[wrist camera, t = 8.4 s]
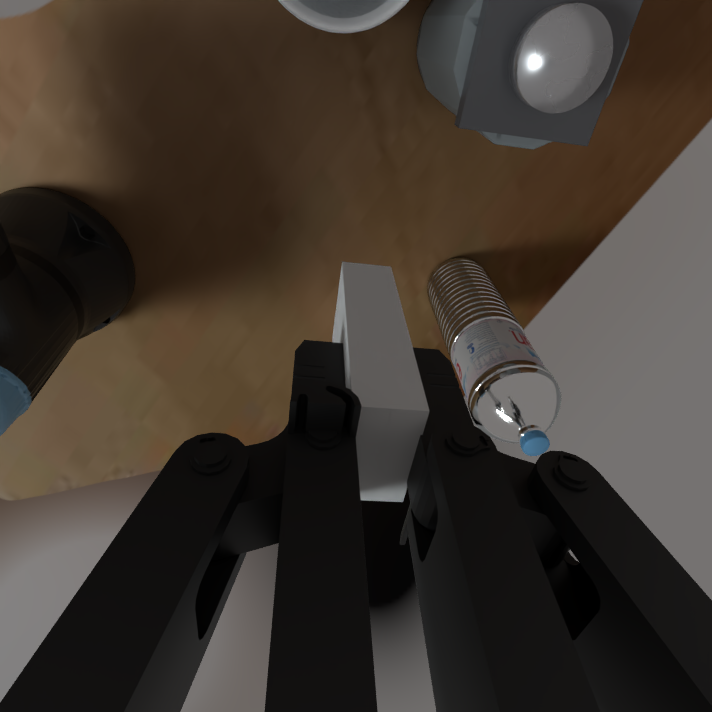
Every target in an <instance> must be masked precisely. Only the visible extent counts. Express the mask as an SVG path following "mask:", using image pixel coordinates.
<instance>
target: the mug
mask: <svg viewBox="0 0 712 712" xmlns="http://www.w3.org/2000/svg"><path fill="white" fill-rule="evenodd" d="M278 1H279V2H280V3H281V4H282V5H283V6H284V7H285V8H286V9H287V10H288V11H289V12H290V13H292V14H293V15H294V16H295V17H297V18H298V19H299V20H301V21H303V22H305V23H306V24H308V25H310V26H313V27H314V28H317V29H320V30H324V31H327V32H333V33H354V32H360V31H365V30H368V29H371V28H374V27H376V26H378V25H380V24H382V23H383V22H385V21H387V20H388V19H390V18H391V17H392V16H394V15H395V14H396V13H397V12H399V11H400V10H401V9H402V8H403V7H404V6H405V5H406V4H407V3H408V1H409V0H278Z"/></svg>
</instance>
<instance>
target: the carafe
mask: <svg viewBox="0 0 712 712" xmlns="http://www.w3.org/2000/svg"><path fill="white" fill-rule="evenodd" d="M642 2H643V0H432V1H431V3H430V5H429V6H428V8H427V10H426V12H425V14H424V16H423V19H422V22H421V25H420V29H419V33H418V39H417V61H418V67H419V71H420V74H421V77H422V79H423V81H424V83H425V87H426V89H427V90H428V91H429V92H430V93H431V94H432V95H433V96H434V97H435V98H436V99H437V100H439V101H440V102H441V103H442V104H443V105H444V106H445V107H446V108H447V109H448V110H449V111H451V112H452V113H453V114H455V115H456V120H455V125H456V126H457V127H458V128H462V129H469V130H476V131H477V132H479V133H480V134H481V135H483V136H484V137H485V138H487V139H488V140H489V141H491V142H492V143H493V144H498V145H505V146H512V147H520V148H527V149H536V148H538V147H540V146H543V145H545V144H547V143H550V142H552V141H554V142H561V143H568V144H575V145H582V146H588V143H589V141H590V138H591V136H592V133H593V130H594V128H595V125H596V123H597V120H598V117H599V115H600V112H601V109H602V107H603V104H604V102H605V99H606V98H607V97H608V96H609V95H610V92H611V90H612V87H613V84H614V82H615V79H616V77H617V74H618V71H619V69H620V66H621V64H622V61H623V59H624V56H625V53H626V51H627V48H628V46H629V36H630V34H631V31H632V29H633V26H634V23H635V21H636V18H637V15H638V13H639V10H640V8H641V5H642ZM566 3H584V4H588V5H591V6H593V7H595V8H596V9H598V10H599V11H600V12H601V13H602V14H603V15H604V16H605V17H606V19H607V21H608V23H609V25H610V27H611V31H612V36H613V54H612V59H611V63H610V66H609V69H608V71H607V73H606V76H605V78H604V79H603V81H602V83H601V84H600V86H599V87H598V89H597V90H596V91H595V92H594V93H593V94H592V95H591V96H590V97H589V98H588V99H587V100H586V101H585V102H583V103H582V104H581V105H579V106H577V107H576V108H574V109H572V110H569V111H566V112H562V113H545V112H542V111H539V110H537V109H535V108H532V107H530V106H528V105H526V104H525V103H523V102H522V101H521V100H520V99H519V98H518V97H517V96H516V94H515V92H514V91H513V89H512V86H511V83H510V79H509V58H510V53H511V50H512V47H513V44H514V42H515V40H516V38H517V36H518V34H519V32H520V31H521V30H522V28H523V27H524V25H525V24H526V23H527V22H528V21H529V20H530V19H531V18H532V17H533V16H534V15H536V14H537V13H538V12H540V11H542V10H543V9H545V8H547V7H550V6H552V5H557V4H566Z"/></svg>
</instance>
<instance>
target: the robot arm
mask: <svg viewBox="0 0 712 712" xmlns="http://www.w3.org/2000/svg"><path fill="white" fill-rule="evenodd" d="M134 284H135V271H134V265H133V261H132V258H131V255H130V253H129V250H128V248H127V246H126V244H125V243H124V241H123V239H122V238H121V236H120V235H119V234H118V232H117V231H116V230H115V229H114V227H113V226H112V225H111V224H110V223H109V222H108V221H107V220H106V219H105V218H104V217H102V216H101V215H100V214H99V213H98V212H96V211H95V210H94V209H92V208H91V207H89V206H88V205H86V204H85V203H83V202H81V201H79V200H77V199H75V198H73V197H71V196H68V195H66V194H63V193H60V192H57V191H53V190H48V189H42V188H18V189H13V190H9V191H6V192H4V193H1V194H0V436H1V435H2V434H3V433H4V432H5V431H6V430H7V428H8V427H9V426H10V425H11V424H12V423H13V422H14V421H15V420H16V418H17V417H19V416H20V415H22V414H23V413H24V412H25V411H26V410H27V409H28V408H29V406H30V404H31V402H32V401H33V400H34V398H35V397H36V396H37V394H38V393H39V391H40V390H41V389H42V387H43V386H44V384H45V383H46V382H47V380H48V379H49V378H50V376H51V375H52V373H53V372H54V371H55V369H56V368H57V367H58V365H59V364H60V362H61V361H62V360H63V358H64V357H65V355H66V354H67V353H68V351H69V350H70V349H71V347H72V346H73V344H74V343H75V342H76V341H77V340H79V339H81V338H83V337H85V336H87V335H89V334H91V333H93V332H95V331H98V330H100V329H102V328H104V327H105V326H107V325H108V324H110V323H111V322H112V321H113V320H115V319H116V318H117V317H118V316H119V314H120V313H121V312H122V310H123V309H124V307H125V306H126V304H127V303H128V301H129V300H130V298H131V295H132V293H133V289H134ZM407 486H408V491H409V496H410V507H409V511H408V513H407V517H406V520H405V523H404V526H403V529H402V533H401V537H400V545H405V542H406V540H407V536H409V541H410V548H411V554H412V561H413V567H414V573H415V580H416V586H417V592H418V599H419V605H420V611H421V617H422V623H423V630H424V636H425V643H426V648H427V655H428V661H429V668H430V674H431V680H432V686H433V693H434V699H435V705H436V712H712V600H711V599H710V598H709V597H708V596H707V595H706V593H705V592H704V591H703V590H702V589H701V588H700V587H699V585H698V584H697V583H696V582H695V581H694V580H693V579H692V578H691V577H690V575H689V574H688V573H687V572H686V571H685V570H684V569H683V567H682V566H681V565H680V564H679V563H678V562H677V561H676V560H675V558H674V557H673V556H672V555H671V554H670V553H669V551H668V550H667V549H666V548H665V547H664V546H663V545H662V543H661V542H660V541H659V540H658V539H657V538H656V537H655V536H654V534H653V533H652V532H651V531H650V530H649V529H648V528H647V526H645V524H644V523H643V522H642V521H641V520H640V519H639V517H638V516H637V515H636V514H635V513H634V512H633V510H632V509H631V508H630V507H629V506H628V505H627V504H626V503H625V502H624V500H623V499H622V498H621V497H620V496H619V495H618V493H617V492H616V491H615V490H614V489H613V488H612V487H611V485H610V484H609V483H608V482H607V481H606V480H605V479H604V478H603V476H602V475H601V474H600V473H599V472H598V471H597V470H596V469H595V468H594V467H593V466H592V465H590V464H589V463H588V462H587V461H585V460H583V459H581V458H580V457H578V456H576V455H573V454H570V453H567V452H563V451H549V452H547V453H544V454H542V455H541V456H540V457H539V459H538V460H537V462H536V464H534V463H531V462H528V461H524V460H521V459H518V458H515V457H511V456H509V455H506V454H503V453H501V452H499V451H497V449H496V446H495V445H494V443H493V441H492V440H491V438H490V437H489V436H488V435H487V434H486V433H484V432H483V431H482V430H481V429H479V428H477V427H475V426H474V425H473V422H472V419H471V417H470V414H469V411H468V408H467V406H466V404H465V400H464V397H463V395H462V392H461V389H460V388H459V384H458V381H457V378H455V373H454V370H453V367H452V365H451V362H450V361H449V360H448V359H447V358H446V357H445V356H444V355H443V354H442V353H441V352H440V351H439V350H436V349H424V348H413V347H412V344H411V340H410V336H409V332H408V329H407V325H406V321H405V317H404V314H403V310H402V306H401V302H400V299H399V295H398V291H397V288H396V284H395V280H394V276H393V273H392V269H391V267H389V266H379V265H369V264H360V263H350V262H342V267H341V274H340V282H339V290H338V298H337V306H336V314H335V322H334V330H333V342H323V341H310V340H304V341H303V342H302V344H301V345H300V346H299V347H298V348H297V349H296V351H295V360H294V372H293V383H292V395H291V401H290V411H289V421H288V425H287V426H286V428H285V429H284V431H282V432H281V433H280V434H279V435H278V436H276V437H274V438H273V439H271V440H269V441H266V442H262V443H259V444H254V445H249V446H245V445H244V444H243V443H242V442H241V441H240V440H239V439H237V438H235V437H232V436H230V435H228V434H223V433H207V434H201V435H197V436H195V437H193V438H191V439H189V440H187V441H185V442H184V443H183V444H182V445H181V446H180V447H179V448H178V449H177V450H176V451H175V452H174V453H173V455H172V456H171V458H170V459H169V461H168V462H167V463H166V465H165V466H164V468H163V469H162V471H161V472H160V474H159V475H158V477H157V478H156V479H155V481H154V482H153V484H152V485H151V487H150V488H149V489H148V491H147V492H146V494H145V495H144V497H143V498H142V499H141V501H140V502H139V504H138V505H137V507H136V508H135V510H134V511H133V512H132V514H131V515H130V517H129V518H128V520H127V521H126V523H125V524H124V525H123V527H122V528H121V530H120V531H119V533H118V534H117V535H116V537H115V538H114V540H113V541H112V543H111V544H110V546H109V547H108V548H107V550H106V551H105V553H104V554H103V556H102V557H101V559H100V560H99V561H98V563H97V564H96V566H95V567H94V569H93V570H92V571H91V573H90V574H89V576H88V577H87V579H86V580H85V582H84V583H83V585H82V586H81V587H80V589H79V590H78V592H77V593H76V595H75V596H74V597H73V599H72V600H71V602H70V603H69V605H68V606H67V607H66V609H65V610H64V612H63V613H62V615H61V616H60V617H59V619H58V621H57V622H56V623H55V625H54V626H53V628H52V629H51V631H50V632H49V633H48V635H47V636H46V638H45V639H44V640H43V642H42V643H41V645H40V646H39V648H38V649H37V651H36V652H35V653H34V655H33V656H32V658H31V659H30V661H29V662H28V664H27V665H26V666H25V668H24V669H23V671H22V672H21V674H20V675H19V677H18V678H17V680H16V681H15V682H14V684H13V685H12V687H11V688H10V689H9V691H8V692H7V694H6V695H5V697H4V698H3V699H2V701H1V702H0V712H180V711H181V709H182V706H183V704H184V702H185V699H186V696H187V694H188V692H189V689H190V687H191V685H192V682H193V680H194V678H195V675H196V673H197V670H198V668H199V666H200V663H201V661H202V658H203V656H204V654H205V651H206V649H207V646H208V644H209V642H210V639H211V637H212V634H213V632H214V630H215V627H216V625H217V623H218V620H219V618H220V615H221V613H222V611H223V608H224V606H225V603H226V601H227V599H228V596H229V594H230V591H231V589H232V586H233V584H234V582H235V579H236V577H237V575H238V572H239V570H240V567H241V565H242V563H243V560H244V558H245V555H246V552H248V551H252V550H256V549H259V548H263V547H266V546H270V545H273V544H276V543H279V547H278V558H277V570H276V582H275V595H274V606H273V618H272V630H271V642H270V654H269V667H268V678H267V691H266V704H265V712H377V701H376V688H375V676H374V663H373V650H372V638H371V625H370V612H369V599H368V587H367V574H366V561H365V549H364V537H363V523H362V510H361V500H372V501H397V502H403V500H404V496H405V493H406V489H407ZM569 550H571V551H572V552H573V554H574V555H575V557H576V558H577V559H578V561H579V562H580V563H579V562H578V561H576V560H575V559H574V558H573V557H572V556H571V555H570V553H569V552H568V551H569Z"/></svg>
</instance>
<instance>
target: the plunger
mask: <svg viewBox="0 0 712 712" xmlns="http://www.w3.org/2000/svg"><path fill="white" fill-rule="evenodd" d="M612 54H613V36H612V31H611V27H610V25H609V23H608V21H607V19H606V17H605V16H604V15H603V14H602V13H601V12H600V11H599V10H598V9H596V8H595V7H593V6H591V5H588V4H584V3H566V4H557V5H552V6H550V7H547V8H545V9H543V10H542V11H540V12H538V13H537V14H536V15H534V16H533V17H532V18H531V19H530V20H529V21H528V22H527V23H526V24H525V25H524V27H523V28H522V30H521V31H520V32H519V34H518V36H517V38H516V40H515V42H514V44H513V47H512V50H511V53H510V58H509V79H510V83H511V86H512V89H513V91H514V92H515V94H516V96H517V97H518V98H519V99H520V100H521V101H522V102H523V103H525V104H526V105H528V106H530V107H532V108H535V109H537V110H539V111H542V112H545V113H562V112H566V111H569V110H572V109H574V108H576V107H577V106H579V105H581V104H582V103H583V102H585V101H586V100H587V99H588V98H589V97H590V96H591V95H592V94H593V93H594V92H595V91H596V90H597V89H598V87H599V86H600V84H601V83H602V81H603V79H604V78H605V76H606V73H607V71H608V69H609V66H610V63H611V59H612Z"/></svg>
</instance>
